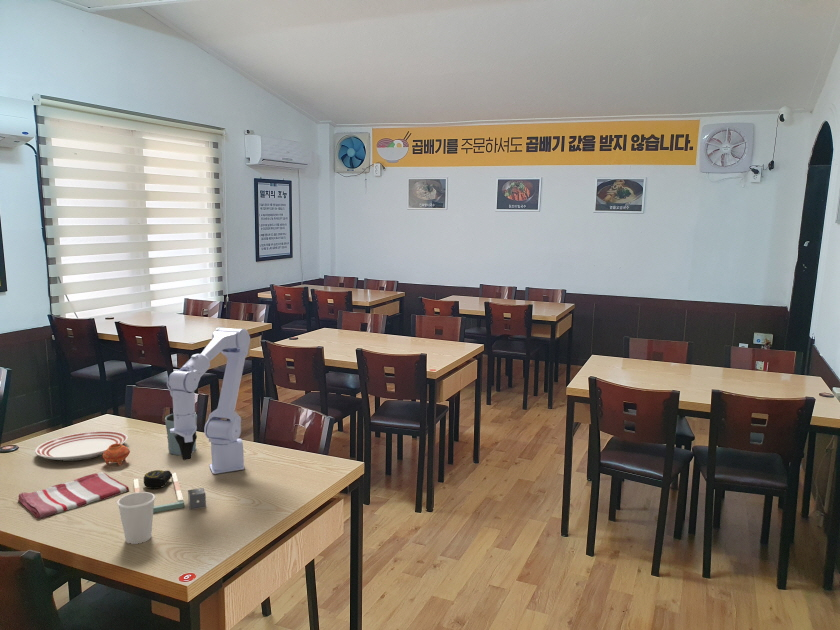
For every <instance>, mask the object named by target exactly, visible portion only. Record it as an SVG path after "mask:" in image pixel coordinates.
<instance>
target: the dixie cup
mask: <svg viewBox="0 0 840 630" xmlns="http://www.w3.org/2000/svg"><path fill="white" fill-rule="evenodd" d="M155 499H156V495H155V494H154V493H152V492H148V491H147V492H146V491H142V492H141V491H140V492H137V493H135V492H132V493H128V494H126V495H123V496H121V497H120V498H119V499H118V500H117V501H116V504H117V506H118V510H119V515H120V520H121V525H122V528H123V533H124V538H125V543H126V544H129V543H131V544H130V545H138V543H139V544H142V542H143V543H145V542H147V541H149V540H151V539H152V533H153V532H152V530H153V517H154V513H153V508H154V506H155Z"/></svg>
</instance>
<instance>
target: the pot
mask: <svg viewBox="0 0 840 630" xmlns="http://www.w3.org/2000/svg"><path fill="white" fill-rule="evenodd" d="M130 453H131V450H130V448H128V446H125V445H124V444H112V445H110V446H109V448H108V449H107V450H106V451H105V452H104V453H103V455H102V459H104V461H105V464H107V465H109V464H110V463H117V464H118V466H119V467H120V466H121V465H122V462H123V461H125V460H126V458H128V457H129V455H130Z"/></svg>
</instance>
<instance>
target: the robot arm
mask: <svg viewBox="0 0 840 630" xmlns="http://www.w3.org/2000/svg"><path fill="white" fill-rule="evenodd" d="M250 345H251V336H250V334H249V331H248V330H247V329H246V328H230V327H229V328H228V327H222V326H219V327H216V329H215V330H214V331H213V332H212V335H211V340H210V341H209V342H208V344H207V345H206V346H205V347H204V349H203V350H202V352H201V353H195V354H192V355H191V356H190V359H188V360H187V361H186V362H185V364H183V365H182V367H180V368H179V370H174V371H173V372H171V373H170V374H169V375H168V378H167V382H166V387H167V388H168V390H169V393H170V396H171V398H172V411H173V413H174V428H172V429H170V433H176V435H174V436H175V439H176V441H177V442H178V444H179V447H180V451H181V455H180V456H181V459H182V460H183V461H187V460H191V459H192V455H193V452H192V450H193V446H194V443H195V441H196V442H197V438H198V436H197V429H198V427H197V424H196V418H195V414H196V405H195V404H196V402H195V401H196V400H195V391H196V390H197V388H198V386H199V382H200V381H201V377H202V376H203V375H204V374H205V373H206V372H207V371H208V370H209V368H210V367H211V361H212V360H214V358H216V357H217V356H218V355H219V354H220V353H221V354H222V355H223V356H225V358H226V359H227V360H226V364H225V370H224V375H223V379H222V384H221V389H220V394H219V399H218V405H217V408H216V409H214V410H213V411H212V412H210V413H209V416H208V419H207V421H206V423H205V424H204V428H203V429H204V431H203V432H204V435H205V437H206V438H207V439H208V442H210V443H211V444H210V449H211V463H210V464H208V467H209V468H210V471H211V473H212V474H213V475H217V474H218V475H219V474H223V473H230V472H235V471H241V470H242V471H243V470H245V458H244V457H245V456H244V445H243V443H244V442H243V439H242V438H240V436H241V433H242V426H241V425H242V423H241V422H242V417H241V416H240V415H239V414H238V412H236V406H237V402H238V397H239V391H240V385H241V383H242V382H241V380H242V377H243V376H242V375H243V372H244V366H245V361H246V357H247V356H248V353H249V348H250ZM173 413H172V414H173ZM195 431H196V433H195Z"/></svg>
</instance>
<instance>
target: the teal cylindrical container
mask: <svg viewBox="0 0 840 630" xmlns="http://www.w3.org/2000/svg"><path fill="white" fill-rule="evenodd" d="M195 418H196V425H197V424H198V414H197V413H195ZM164 422H165V429H166V435H167V436H166V437H167V445H168V447H167V449H168V453H169V454H170V455H173V456H182V455H181V451H180V447H179V444H178V442H177V441H176V439H175V436H174V435H176V433H170V429H172V428H174V413H171V414H168V415H166V416H165V418H164ZM195 433H196V434H197V430H196V431H195ZM196 442H197V440H196V441H195V443H194V446H193V450H192V453H194V452H195V451H196V450H197V448H196V447H197V443H196Z"/></svg>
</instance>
